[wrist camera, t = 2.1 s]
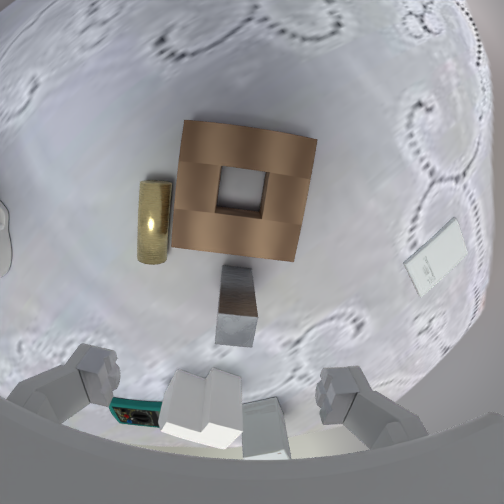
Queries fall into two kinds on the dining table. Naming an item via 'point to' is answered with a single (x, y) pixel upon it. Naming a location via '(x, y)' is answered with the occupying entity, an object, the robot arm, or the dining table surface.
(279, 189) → the socket block
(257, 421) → the supplement box
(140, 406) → the digital multimeter
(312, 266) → the dining table surface
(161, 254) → the round bit
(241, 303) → the square bit
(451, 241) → the external hard drive
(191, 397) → the corner bracket
